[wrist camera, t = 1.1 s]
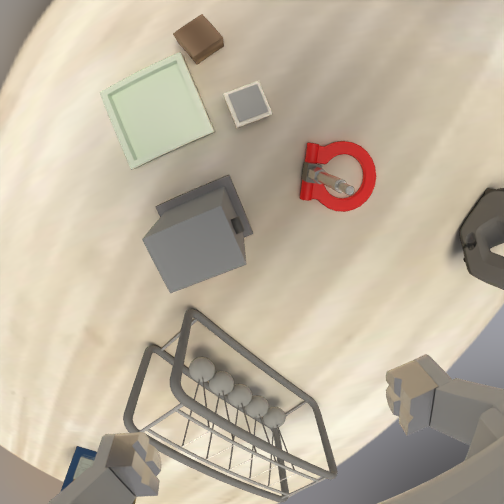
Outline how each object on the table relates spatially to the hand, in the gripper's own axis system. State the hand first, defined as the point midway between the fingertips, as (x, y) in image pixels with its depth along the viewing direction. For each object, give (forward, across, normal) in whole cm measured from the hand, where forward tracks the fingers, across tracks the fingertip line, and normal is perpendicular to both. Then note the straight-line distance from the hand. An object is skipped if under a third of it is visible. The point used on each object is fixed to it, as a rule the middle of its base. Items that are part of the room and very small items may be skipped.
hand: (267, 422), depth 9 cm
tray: (+33, +5, -16) cm, 37 cm away
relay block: (+32, -5, -14) cm, 35 cm away
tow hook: (+33, -15, -3) cm, 36 cm away
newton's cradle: (+36, +6, +25) cm, 44 cm away
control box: (+34, +3, -1) cm, 34 cm away
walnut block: (+32, -2, -23) cm, 40 cm away
